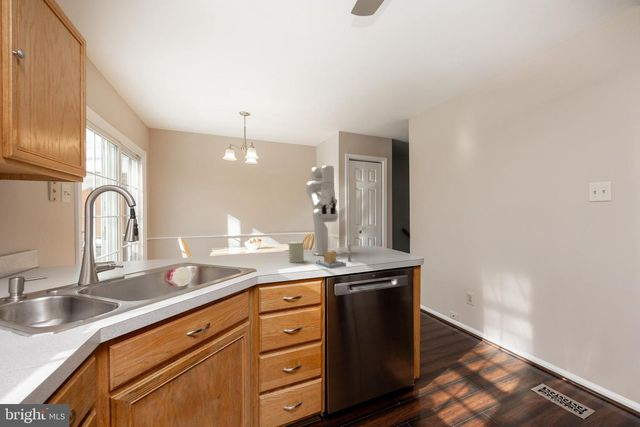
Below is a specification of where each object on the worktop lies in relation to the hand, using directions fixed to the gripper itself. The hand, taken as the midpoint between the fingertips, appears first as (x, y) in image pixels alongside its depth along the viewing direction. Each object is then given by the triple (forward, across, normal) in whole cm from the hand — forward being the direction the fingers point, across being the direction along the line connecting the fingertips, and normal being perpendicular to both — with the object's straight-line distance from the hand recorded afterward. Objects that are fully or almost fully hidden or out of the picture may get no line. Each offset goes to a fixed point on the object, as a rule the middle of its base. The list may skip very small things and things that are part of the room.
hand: (328, 214), depth 167 cm
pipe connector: (+28, +10, +8) cm, 31 cm away
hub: (+27, +12, -7) cm, 30 cm away
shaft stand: (+28, +12, -7) cm, 32 cm away
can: (+28, -9, -18) cm, 35 cm away
